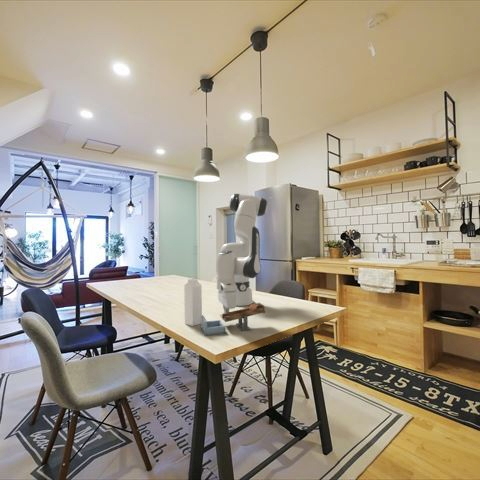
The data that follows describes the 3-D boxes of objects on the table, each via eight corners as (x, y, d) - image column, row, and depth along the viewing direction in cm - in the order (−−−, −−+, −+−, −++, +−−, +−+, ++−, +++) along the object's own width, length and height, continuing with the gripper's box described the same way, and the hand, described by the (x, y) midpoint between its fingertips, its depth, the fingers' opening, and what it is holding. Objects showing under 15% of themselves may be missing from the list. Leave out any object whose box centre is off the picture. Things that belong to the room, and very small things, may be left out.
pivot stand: (243, 323, 132) (243, 310, 132) (250, 330, 122) (250, 315, 122) (235, 324, 131) (235, 310, 131) (242, 331, 121) (241, 316, 121)
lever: (256, 308, 138) (255, 300, 138) (265, 315, 126) (264, 305, 126) (220, 317, 132) (218, 308, 132) (226, 325, 121) (224, 315, 121)
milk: (202, 323, 134) (201, 278, 134) (192, 326, 129) (192, 279, 129) (193, 321, 138) (193, 277, 138) (184, 323, 133) (184, 278, 133)
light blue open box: (201, 328, 126) (201, 315, 126) (220, 326, 128) (220, 313, 128) (204, 335, 116) (204, 321, 116) (225, 333, 119) (225, 319, 119)
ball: (254, 311, 130) (247, 309, 129) (256, 304, 130) (249, 302, 129) (256, 313, 126) (249, 311, 126) (258, 306, 127) (252, 304, 126)
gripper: (214, 282, 139) (215, 309, 139) (224, 288, 119) (225, 320, 119) (226, 281, 141) (227, 308, 141) (238, 287, 121) (239, 318, 121)
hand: (226, 314), depth 130 cm, fingers closed, pressing on lever
